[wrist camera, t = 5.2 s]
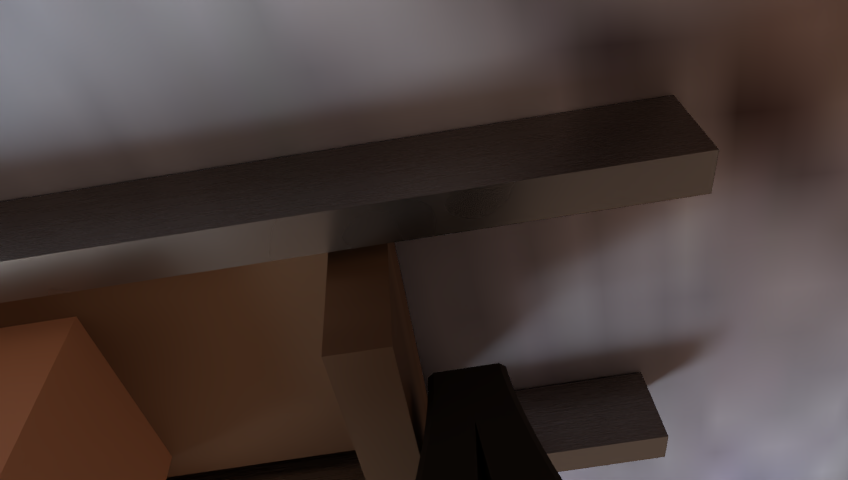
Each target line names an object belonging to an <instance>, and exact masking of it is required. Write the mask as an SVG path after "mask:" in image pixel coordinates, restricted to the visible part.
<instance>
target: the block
mask: <svg viewBox="0 0 848 480" xmlns="http://www.w3.org/2000/svg"><path fill="white" fill-rule="evenodd" d="M171 459H172V456H171V454H170V453H169V451H168V450H167V448H166V447H165V445H164V444H163V442H162V441H161V440H160V438H159V437H158V435H157V434H156V432H155V431H154V429H153V428H152V426H151V425H150V423H149V422H148V421H147V419H146V418H145V416H144V415H143V413H142V412H141V410H140V409H139V407H138V406H137V404H136V403H135V402H134V400H133V399H132V397H131V396H130V394H129V393H128V391H127V390H126V388H125V387H124V385H123V384H122V383H121V381H120V380H119V378H118V377H117V375H116V374H115V372H114V371H113V369H112V368H111V366H110V365H109V364H108V362H107V361H106V359H105V358H104V356H103V355H102V353H101V352H100V350H99V349H98V347H97V346H96V345H95V343H94V342H93V340H92V339H91V337H90V336H89V334H88V333H87V331H86V330H85V328H84V327H83V326H82V324H81V323H80V321H79V320H78V318H77V317H69V318H63V319H56V320H50V321H43V322H37V323H30V324H24V325H17V326H11V327H4V328H0V480H166V479H167V475H168V471H169V467H170V463H171Z"/></svg>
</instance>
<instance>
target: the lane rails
mask: <svg viewBox="0 0 848 480" xmlns="http://www.w3.org/2000/svg"><path fill="white" fill-rule="evenodd" d="M718 152H719V149H718V148H717V147H716V146H715V144H714V143H713V142H712V141H711V140H710V138H709V137H708V136H707V135H706V134H705V132H704V131H703V130H702V129H701V127H700V126H699V125H698V124H697V123H696V121H695V120H694V119H693V118H692V117H691V115H690V114H689V113H688V112H687V111H686V109H685V108H684V107H683V106H682V105H681V103H680V102H679V101H678V100H677V99H676V97H675V96H674V95H671V96H665V97H659V98H652V99H646V100H640V101H633V102H627V103H621V104H614V105H608V106H602V107H596V108H589V109H583V110H577V111H570V112H564V113H558V114H551V115H545V116H539V117H533V118H526V119H520V120H514V121H507V122H501V123H495V124H488V125H482V126H476V127H470V128H463V129H457V130H451V131H444V132H438V133H432V134H425V135H419V136H413V137H406V138H400V139H394V140H388V141H381V142H375V143H369V144H362V145H356V146H350V147H343V148H337V149H331V150H325V151H318V152H312V153H306V154H299V155H293V156H287V157H280V158H274V159H268V160H261V161H255V162H249V163H243V164H236V165H230V166H224V167H217V168H211V169H205V170H198V171H192V172H186V173H180V174H173V175H167V176H161V177H154V178H148V179H142V180H135V181H129V182H123V183H116V184H110V185H104V186H98V187H91V188H85V189H79V190H72V191H66V192H60V193H53V194H47V195H41V196H35V197H28V198H22V199H16V200H9V201H3V202H0V303H3V302H10V301H16V300H23V299H29V298H36V297H42V296H49V295H55V294H62V293H68V292H75V291H81V290H88V289H94V288H101V287H107V286H114V285H120V284H127V283H133V282H140V281H146V280H153V279H159V278H166V277H172V276H179V275H185V274H192V273H198V272H205V271H211V270H218V269H224V268H230V267H237V266H243V265H250V264H256V263H263V262H269V261H276V260H282V259H289V258H295V257H302V256H308V255H315V254H321V253H328V252H334V251H341V250H347V249H354V248H360V247H367V246H373V245H380V244H386V243H393V242H399V241H406V240H412V239H419V238H425V237H432V236H438V235H445V234H451V233H458V232H464V231H470V230H477V229H483V228H490V227H496V226H503V225H509V224H516V223H522V222H529V221H535V220H542V219H548V218H555V217H561V216H568V215H574V214H581V213H587V212H594V211H600V210H607V209H613V208H620V207H626V206H633V205H639V204H646V203H652V202H659V201H665V200H672V199H678V198H685V197H691V196H698V195H704V194H710V193H711V192H712V186H713V181H714V175H715V169H716V164H717V158H718ZM515 393H516V395H517V398H518V400H519V402H520V404H521V406H522V408H523V410H524V413H525V415H526V416H527V418H528V420H529V422H530V424H531V426H532V428H533V430H534V432H535V434H536V436H537V438H538V439H539V441H540V443H541V445H542V447H543V448H544V450H545V452H546V453H547V455H548V457H549V458H550V460H551V462H552V464H553V465H554V467H555V469H556V470H557V472H561V471H568V470H575V469H582V468H589V467H596V466H603V465H610V464H616V463H623V462H630V461H637V460H644V459H651V458H658V457H665V452H666V447H667V441H668V434H667V432H666V430H665V427H664V425H663V423H662V420H661V418H660V416H659V413H658V411H657V409H656V406H655V404H654V402H653V399H652V397H651V395H650V392H649V390H648V388H647V385H646V383H645V381H644V378H643V376H642V374H641V372H640V373H634V374H627V375H620V376H613V377H606V378H600V379H593V380H586V381H579V382H572V383H566V384H559V385H552V386H545V387H538V388H531V389H525V390H518V391H515ZM166 480H366V479H365V477H364V474H363V471H362V468H361V465H360V463H359V460H358V457H357V454H356V452H355V450H352V451H345V452H338V453H331V454H324V455H318V456H311V457H304V458H297V459H290V460H283V461H276V462H269V463H263V464H256V465H249V466H242V467H235V468H228V469H221V470H214V471H208V472H201V473H194V474H187V475H180V476H173V477H167V479H166Z"/></svg>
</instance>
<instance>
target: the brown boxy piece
mask: <svg viewBox="0 0 848 480" xmlns="http://www.w3.org/2000/svg"><path fill="white" fill-rule="evenodd" d="M69 317H77V318H78V320H79V321H80V323H81V324H82V326H83V327H84V328H85V330H86V331H87V333H88V334H89V336H90V337H91V339H92V340H93V342H94V343H95V345H96V346H97V347H98V349H99V350H100V352H101V353H102V355H103V356H104V358H105V359H106V361H107V362H108V364H109V365H110V366H111V368H112V369H113V371H114V372H115V374H116V375H117V377H118V378H119V380H120V381H121V383H122V384H123V385H124V387H125V388H126V390H127V391H128V393H129V394H130V396H131V397H132V399H133V400H134V402H135V403H136V404H137V406H138V407H139V409H140V410H141V412H142V413H143V415H144V416H145V418H146V419H147V421H148V422H149V423H150V425H151V426H152V428H153V429H154V431H155V432H156V434H157V435H158V437H159V438H160V440H161V441H162V442H163V444H164V445H165V447H166V448H167V450H168V451H169V453H170V454H171V456H172V459H171V463H170V467H169V471H168V475H167V477H173V476H180V475H187V474H194V473H201V472H208V471H214V470H221V469H228V468H235V467H242V466H249V465H256V464H263V463H269V462H276V461H283V460H290V459H297V458H304V457H311V456H318V455H324V454H331V453H338V452H345V451H352V450H355V452H356V454H357V457H358V460H359V463H360V465H361V468H362V471H363V474H364V477H365V479H366V480H415V479H416V474H417V470H418V465H419V460H420V455H421V450H422V443H423V437H424V430H425V423H426V415H427V404H428V396H427V392H426V387H425V382H424V378H423V373H422V369H421V364H420V359H419V355H418V350H417V345H416V341H415V336H414V331H413V327H412V322H411V317H410V313H409V308H408V304H407V299H406V294H405V290H404V285H403V280H402V276H401V271H400V266H399V262H398V257H397V252H396V248H395V243H394V242H393V243H386V244H380V245H373V246H367V247H360V248H354V249H347V250H341V251H334V252H328V253H321V254H315V255H308V256H302V257H295V258H289V259H282V260H276V261H269V262H263V263H256V264H250V265H243V266H237V267H230V268H224V269H218V270H211V271H205V272H198V273H192V274H185V275H179V276H172V277H166V278H159V279H153V280H146V281H140V282H133V283H127V284H120V285H114V286H107V287H101V288H94V289H88V290H81V291H75V292H68V293H62V294H55V295H49V296H42V297H36V298H29V299H23V300H16V301H10V302H3V303H0V328H4V327H11V326H17V325H24V324H30V323H37V322H43V321H50V320H56V319H63V318H69Z"/></svg>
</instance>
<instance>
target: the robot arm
mask: <svg viewBox="0 0 848 480" xmlns="http://www.w3.org/2000/svg"><path fill="white" fill-rule="evenodd" d="M415 480H562V479H561V477H560V475H559V474H558V472H557V470H556V469H555V467H554V465H553V464H552V462H551V460H550V458H549V457H548V455H547V453H546V452H545V450H544V448H543V447H542V445H541V443H540V441H539V439H538V438H537V436H536V434H535V432H534V430H533V428H532V426H531V424H530V422H529V420H528V418H527V416H526V415H525V413H524V410H523V408H522V406H521V404H520V402H519V400H518V398H517V395H516V393H515V391H514V388H513V386H512V383H511V381H510V378H509V375H508V372H507V369H506V367H505V366H503V365H502V364H500V363H497V364H491V365H484V366H477V367H470V368H464V369H457V370H450V371H443V372H437V373H433V374H432V375H431V376H430V377H429V378H428V404H427V415H426V423H425V430H424V437H423V443H422V450H421V455H420V460H419V465H418V470H417V474H416V479H415Z"/></svg>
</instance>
